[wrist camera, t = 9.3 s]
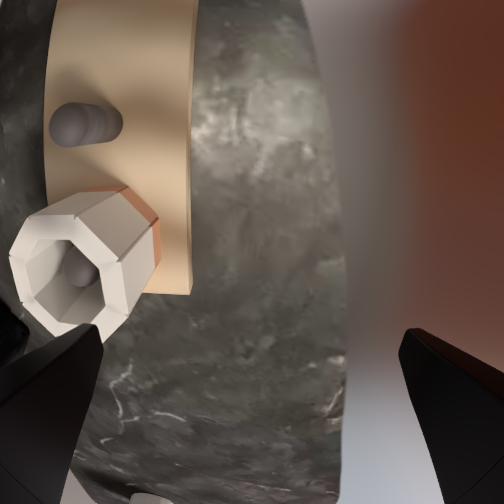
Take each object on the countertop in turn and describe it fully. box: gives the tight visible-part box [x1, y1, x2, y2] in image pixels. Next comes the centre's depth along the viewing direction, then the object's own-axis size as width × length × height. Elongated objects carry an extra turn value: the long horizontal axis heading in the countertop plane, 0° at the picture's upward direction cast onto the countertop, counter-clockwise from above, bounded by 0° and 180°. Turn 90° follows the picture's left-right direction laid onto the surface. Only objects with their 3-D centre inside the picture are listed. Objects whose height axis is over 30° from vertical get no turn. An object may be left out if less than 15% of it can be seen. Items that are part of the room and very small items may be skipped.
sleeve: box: [9, 186, 162, 343], centre depth 14 cm, size 6×6×6 cm
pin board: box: [44, 0, 199, 295], centre depth 13 cm, size 20×9×6 cm, turn 178°
